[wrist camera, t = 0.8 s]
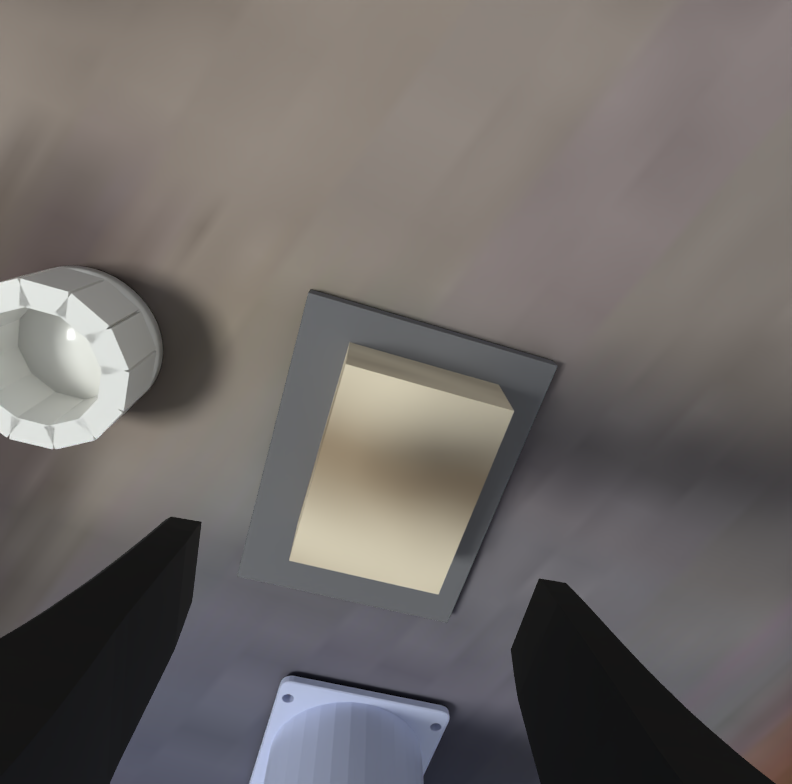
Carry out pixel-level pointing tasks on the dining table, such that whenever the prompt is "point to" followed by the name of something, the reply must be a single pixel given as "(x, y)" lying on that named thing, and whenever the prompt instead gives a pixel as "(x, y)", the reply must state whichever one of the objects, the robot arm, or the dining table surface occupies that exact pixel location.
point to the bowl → (72, 354)
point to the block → (399, 469)
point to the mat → (304, 426)
